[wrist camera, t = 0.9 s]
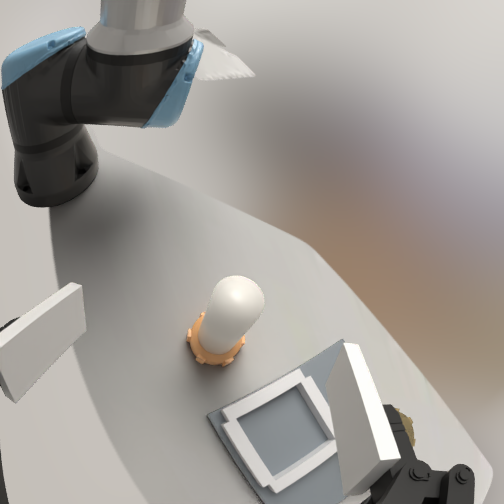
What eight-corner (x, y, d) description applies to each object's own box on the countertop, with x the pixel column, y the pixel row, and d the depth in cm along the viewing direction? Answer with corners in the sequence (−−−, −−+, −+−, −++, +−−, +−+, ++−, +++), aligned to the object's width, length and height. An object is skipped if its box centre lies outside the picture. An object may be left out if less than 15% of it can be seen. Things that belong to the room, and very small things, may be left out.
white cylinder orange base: (179, 326, 30) (188, 276, 21) (224, 309, 32) (251, 256, 23) (203, 375, 27) (224, 349, 18) (248, 354, 30) (289, 319, 21)
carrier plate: (206, 414, 25) (210, 414, 23) (338, 340, 34) (349, 334, 32) (287, 533, 18) (297, 539, 16) (398, 442, 27) (411, 441, 25)
